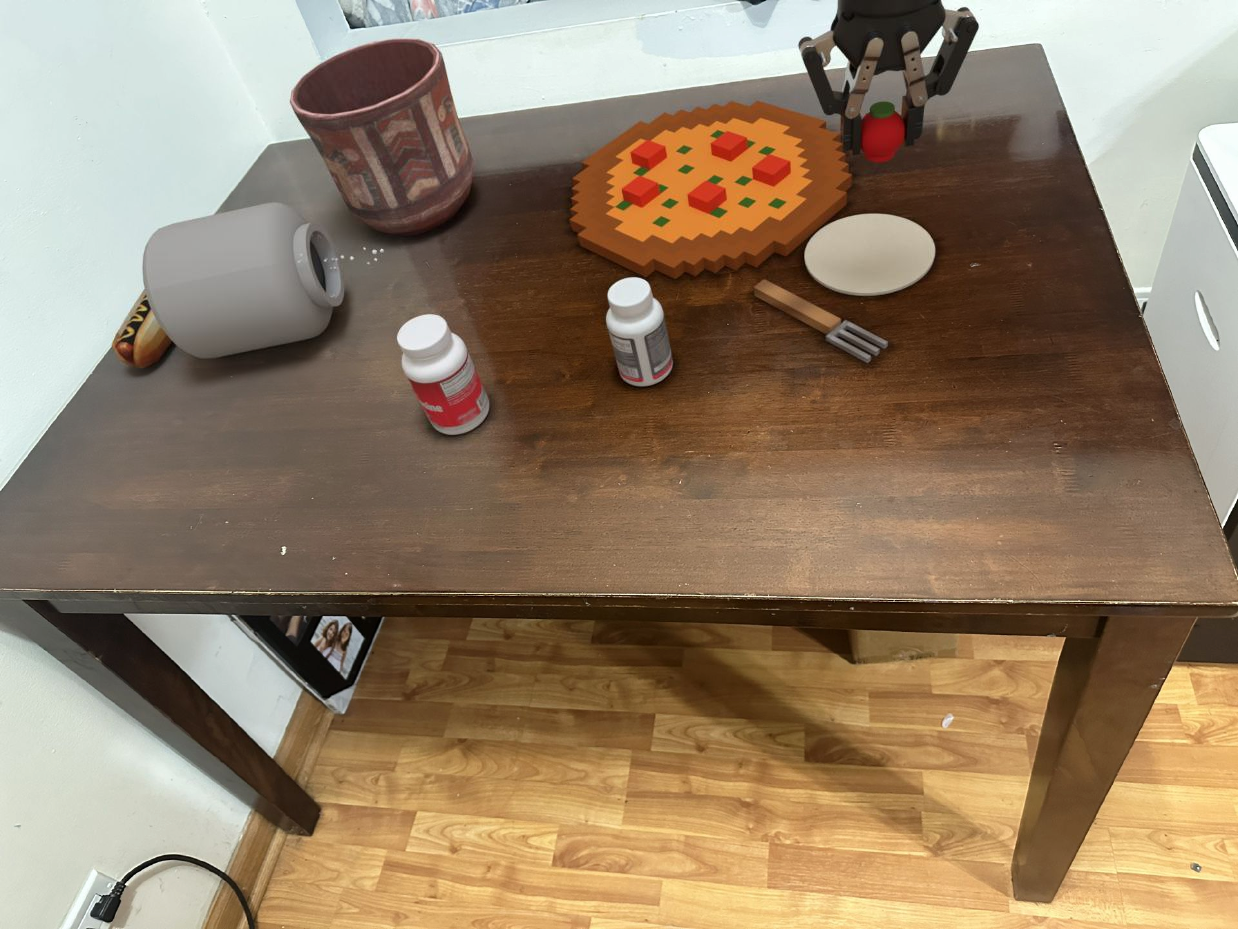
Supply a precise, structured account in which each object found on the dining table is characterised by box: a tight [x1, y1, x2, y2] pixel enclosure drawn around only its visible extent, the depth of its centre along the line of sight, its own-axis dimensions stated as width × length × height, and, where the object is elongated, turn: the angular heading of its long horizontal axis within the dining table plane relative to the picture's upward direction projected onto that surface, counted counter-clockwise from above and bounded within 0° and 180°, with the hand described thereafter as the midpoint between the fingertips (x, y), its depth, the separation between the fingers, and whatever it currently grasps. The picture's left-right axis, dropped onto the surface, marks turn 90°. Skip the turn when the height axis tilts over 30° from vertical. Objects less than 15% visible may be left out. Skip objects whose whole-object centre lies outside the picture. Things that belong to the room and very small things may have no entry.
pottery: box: [289, 37, 474, 237], centre depth 104 cm, size 18×18×18 cm
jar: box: [141, 201, 385, 360], centre depth 94 cm, size 19×15×25 cm
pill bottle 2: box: [605, 276, 674, 387], centre depth 81 cm, size 5×5×10 cm
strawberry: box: [860, 100, 905, 163], centre depth 74 cm, size 4×4×4 cm
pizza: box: [568, 100, 853, 280], centre depth 101 cm, size 32×32×3 cm
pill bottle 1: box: [396, 313, 490, 436], centre depth 82 cm, size 6×6×11 cm
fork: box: [753, 278, 889, 364], centre depth 84 cm, size 15×3×1 cm, turn 41°
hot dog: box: [111, 288, 173, 369], centre depth 102 cm, size 5×13×5 cm, turn 176°
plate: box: [804, 213, 936, 297], centre depth 89 cm, size 13×13×1 cm
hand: (880, 145), depth 75 cm, fingers closed on strawberry, 4 cm apart
